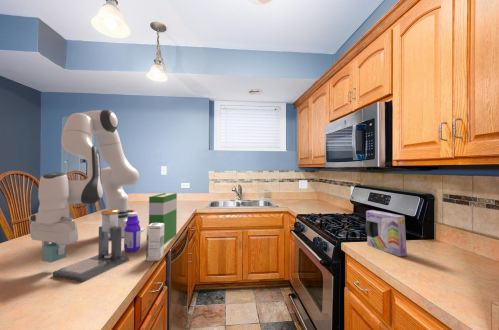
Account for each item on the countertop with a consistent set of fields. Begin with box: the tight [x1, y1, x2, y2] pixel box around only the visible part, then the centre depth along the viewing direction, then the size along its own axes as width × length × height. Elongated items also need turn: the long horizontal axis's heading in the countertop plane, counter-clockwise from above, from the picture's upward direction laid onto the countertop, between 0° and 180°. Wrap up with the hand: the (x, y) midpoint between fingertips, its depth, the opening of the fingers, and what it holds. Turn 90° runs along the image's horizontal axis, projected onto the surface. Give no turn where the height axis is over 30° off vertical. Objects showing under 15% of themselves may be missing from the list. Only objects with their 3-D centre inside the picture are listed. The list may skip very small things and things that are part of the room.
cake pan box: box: [365, 209, 408, 257], centre depth 111 cm, size 19×5×18 cm, turn 18°
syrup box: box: [145, 223, 165, 262], centre depth 100 cm, size 6×6×14 cm
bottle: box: [123, 211, 142, 253], centre depth 110 cm, size 7×6×17 cm
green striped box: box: [148, 192, 178, 245], centre depth 127 cm, size 18×7×24 cm, turn 176°
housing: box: [41, 242, 67, 263], centre depth 88 cm, size 5×5×7 cm
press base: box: [52, 225, 130, 283], centre depth 90 cm, size 20×14×14 cm
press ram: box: [100, 209, 119, 242], centre depth 97 cm, size 6×6×12 cm
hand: (54, 253), depth 88 cm, fingers closed on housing, 5 cm apart
